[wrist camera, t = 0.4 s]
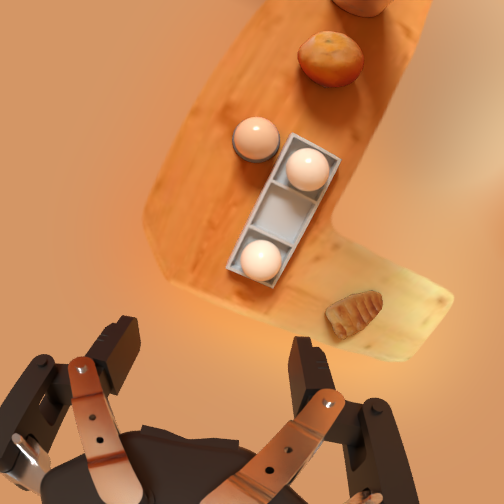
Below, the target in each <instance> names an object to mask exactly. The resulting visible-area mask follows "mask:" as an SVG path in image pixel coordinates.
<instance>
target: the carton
mask: <svg viewBox="0 0 504 504" xmlns="http://www.w3.org/2000/svg"><path fill="white" fill-rule="evenodd" d="M303 148H311V149H315V150H317V151H319V152H320V153H322V154H323V155H324V157H325V158H326V159H327V161H328V164H329V169H330V171H329V177H328V179H327V181H326V183H325V184H324V185H323V186H322V187H321V188H319V189H317V190H314V191H302V190H299V189H297V188H296V187H294V186H293V185H292V184H291V183H290V181H289V180H288V178H287V175H286V163H287V161H288V159H289V157H290V156H291V155H292V154H293V153H294V152H295V151H297V150H299V149H303ZM341 160H342V159H340V158H339V157H337V156H335V155H333V154H332V153H330V152H328V151H326V150H325V149H323V148H321V147H319V146H317V145H315V144H314V143H312V142H310V141H308V140H306V139H304V138H302V137H300V136H298V135H296V134H294V133H293V132H292V133H291V134H290V135H289V137H288V139H287V141H286V143H285V144H284V146H283V148H282V150H281V152H280V154H279V156H278V158H277V160H276V162H275V164H274V166H273V168H272V171H271V173H270V175H269V177H268V179H267V181H266V183H265V185H264V187H263V189H262V191H261V193H260V195H259V197H258V199H257V201H256V203H255V205H254V207H253V209H252V211H251V213H250V215H249V217H248V219H247V222H246V224H245V226H244V228H243V230H242V232H241V234H240V236H239V238H238V240H237V242H236V244H235V247H234V249H233V251H232V253H231V255H230V257H229V259H228V261H227V265H226V269H229V270H231V271H233V272H235V273H238V274H240V275H242V276H245V277H247V278H249V277H248V276H247V275H246V274H245V273H244V272H243V270H242V267H241V263H240V258H241V254H242V251H243V249H244V248H245V247H246V246H247V245H248V244H249V243H251V242H253V241H256V240H266V241H269V242H271V243H273V244H274V245H275V246H276V247H277V248H278V249H279V251H280V254H281V258H282V263H281V267H280V270H279V272H278V273H277V274H276V275H275V276H274V277H273V278H271V279H269V280H266V281H256V280H254V281H256V282H259V283H261V284H263V285H266V286H268V287H270V288H274V286H275V284H276V283H277V281H278V279H279V277H280V275H281V274H282V272H283V270H284V268H285V267H286V265H287V263H288V261H289V259H290V257H291V256H292V254H293V252H294V250H295V248H296V247H297V245H298V243H299V241H300V239H301V237H302V235H303V234H304V232H305V230H306V228H307V226H308V224H309V222H310V220H311V219H312V217H313V215H314V213H315V211H316V209H317V207H318V205H319V203H320V201H321V200H322V198H323V196H324V194H325V192H326V190H327V188H328V186H329V184H330V182H331V180H332V178H333V176H334V174H335V172H336V170H337V168H338V166H339V164H340V162H341ZM249 279H251V278H249ZM252 280H253V279H252Z"/></svg>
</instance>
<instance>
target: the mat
mask: <svg viewBox="0 0 504 504" xmlns="http://www.w3.org/2000/svg"><path fill="white" fill-rule="evenodd" d="M242 122H243V121H242ZM273 125H274V124H273ZM237 127H238V126H237ZM237 127H236V129H237ZM236 129H235V130H234V133H233V138H232V142H233V147H234V149H235V151H236V153H237V154H238V155H239V156H240V157H241V158H242V159H244V160H246V161H249V162H253V163H259V162H264V161H266V160H268V159H270V158H271V157H273V156H274V155H275V153H276V152H277V150H278V148H279V145H280V136H279V141H278V145H277V148H276V149H275V151H274V152H273V153H272V154H271V155H270V156H268V157H266V158H264V159H259V160H254V159H249V158H247V157H245V156H243V155H242V154H241V153H240V152H239V151H238V150H237V148H236V146H235V142H234V134H235V131H236ZM276 129H277V128H276ZM277 131H278V130H277ZM278 135H279V132H278Z"/></svg>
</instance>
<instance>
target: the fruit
mask: <svg viewBox="0 0 504 504" xmlns="http://www.w3.org/2000/svg"><path fill="white" fill-rule="evenodd" d="M298 61H299V63H300V66H301V68H302V70H303V71H304V73H305V74H306V75H307V76H308V77H309V78H310V79H311V80H312V81H314V82H315V83H317V84H319V85H322V86H323V87H324V88H326V87H327V88H329V87H342V86H346V85H348V84H350V83H352V82H353V81H355V80H356V79H357V77H358V76H359V74H360V72H361V70H362V69H363V65H364V57H363V54H362V51H361V49H360V48H359V46H358V45H357V43H355V42H354V41H353V40H352V39H351V38H350V37H348V36H346V35H345V34H343V33H337V32H332V31H321V32H319V33H317V34H314V35H312V36H311V37H310V38H309V39H308V40H307V41H306V42H305V43H304V44H302V46H301V47H300V48H299V51H298Z"/></svg>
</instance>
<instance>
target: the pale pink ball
mask: <svg viewBox="0 0 504 504" xmlns="http://www.w3.org/2000/svg"><path fill="white" fill-rule="evenodd" d="M278 141H279V135H278V131H277V129H276V127H275V126H274V125H273V123H271V122H270V121H269V120H267V119H265V118H262V117H251V118H248V119H246V120H244V121H243V122H241V123H240V124H239V125H238V127H237V129H236V131H235V134H234V142H235V146H236V148H237V150H238V151H239V152H240V153H241V154H242V155H243V156H245V157H247V158H249V159H254V160H259V159H264V158H266V157H268V156H270V155H271V154H272V153H273V152H274V151H275V149H276V148H277V145H278Z"/></svg>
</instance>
